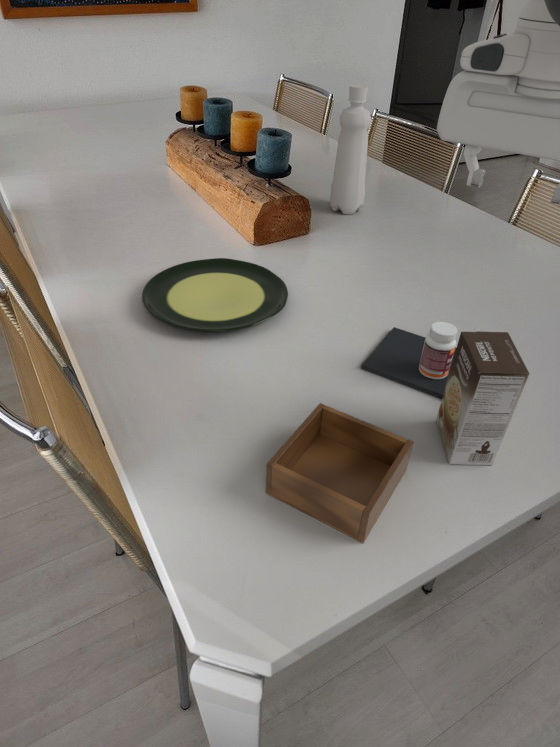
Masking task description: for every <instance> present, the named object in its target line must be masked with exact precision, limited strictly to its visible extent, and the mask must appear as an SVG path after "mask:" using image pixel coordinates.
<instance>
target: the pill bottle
mask: <svg viewBox="0 0 560 747" xmlns="http://www.w3.org/2000/svg"><path fill="white" fill-rule="evenodd" d="M457 334H458V329H457V327H456V326H455V325H454V324H452V323H450V322H446V321H436V322H433V323H432V324H431V325H430V328H429V332H428V334H427V335H426V336H425V337H426V338H425V342H424V347H423V351H422V356H421V361H420V364H419V371H420V373H421V374H422V375H424V376H425V377H428V378H431V379H437V380H438V379H443V378H445V377H446V376H447V375H448V372H449V369H450V365H451V362H452V358H453V355H454V351H455V347H456V348H457V340H456V338H457Z"/></svg>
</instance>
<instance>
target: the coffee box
mask: <svg viewBox="0 0 560 747" xmlns="http://www.w3.org/2000/svg"><path fill="white" fill-rule="evenodd" d="M530 374H531V373H530V371H529V369H528V367H527V366H526V364H525V362H524V360H523V358H522V356H521V355H520V352H519V351H518V349H517V347H516V345H515V343H514V341H513V339H512V337H511V335H510V333H509V332H508V331H481V330H480V331H460V335H459V338H458V342H457V343H456V352H455V355H454V359H453V362H452V366H451V369H450V373H449V376H448V380H447V383H446V387H445V390H444V394H443V398H441V400H440V405H439V409H438V411H437V414H436V415H437V416H436V419H435V421H436V424H437V429H438V432H439V434H440V439H441V441H442V445H443V449H444V452H445V456H446V459H447V462H448V464H449V465H467V466H468V465H469V466H493V465H494V462H495V460H496V458H497V455H498V452H499V450H500V448H501V446H502V443H503V440H504V438H505V435H506V432H507V430H508V428H509V425H510V423H511V421H512V418H513V416H514V413H515V410H516V409H517V405H518V403H519V401H520V398H521V396H522V393H523V391H524V388H525V386H526V383H527V381H528V379H529V376H530Z"/></svg>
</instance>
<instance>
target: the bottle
mask: <svg viewBox="0 0 560 747" xmlns="http://www.w3.org/2000/svg"><path fill="white" fill-rule="evenodd" d="M348 89H349V90H348V92H349V95H348V99H347V101H348V102H349V104H350V106H348V107H346V108H343V109H342V111H341V114H340V115H339V126H340V130H339V131H340V132H339V135H338V138H337V139H338V140H337V147H336V155H335V161H334V170H333V177H332V182H331V185H330V197H329V198H330V199H329V206H330V207H331V209H332V211H333V212H338V211H339V212H340V211H341V213H342V214H343V215H354V214H355V213H356V212H360V211H361V210H362V208H364V203H365V195H366V174H367V159H368V149H369V130H368V129H369V128H370V127H371V124H372V120H373V119H372V116H371V112H370V110H368V109H366V108H365V107H364V105H365V103H366V102H368V101H367V96H368V92H369V86H368V85H366V84H360V83H355V84H349V88H348ZM333 208H334V209H333Z"/></svg>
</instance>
